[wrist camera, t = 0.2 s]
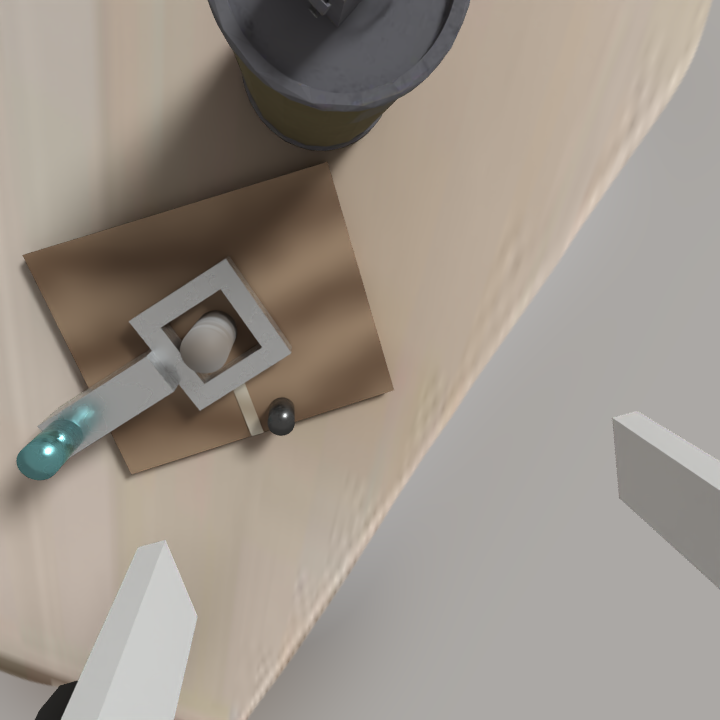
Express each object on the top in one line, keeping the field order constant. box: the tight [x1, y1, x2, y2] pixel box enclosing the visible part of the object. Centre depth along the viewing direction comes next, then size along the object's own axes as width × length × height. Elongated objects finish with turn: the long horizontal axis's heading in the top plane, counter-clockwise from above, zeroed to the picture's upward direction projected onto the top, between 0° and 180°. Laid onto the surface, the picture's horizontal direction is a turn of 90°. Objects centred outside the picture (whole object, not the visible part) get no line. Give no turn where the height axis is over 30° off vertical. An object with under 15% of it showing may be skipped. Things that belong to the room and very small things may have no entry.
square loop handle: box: [17, 256, 292, 480], centre depth 35 cm, size 17×8×8 cm, turn 121°
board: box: [23, 162, 394, 474], centre depth 37 cm, size 18×22×7 cm
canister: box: [208, 0, 470, 151], centre depth 26 cm, size 11×10×20 cm
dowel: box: [268, 397, 295, 436], centre depth 41 cm, size 2×2×4 cm
